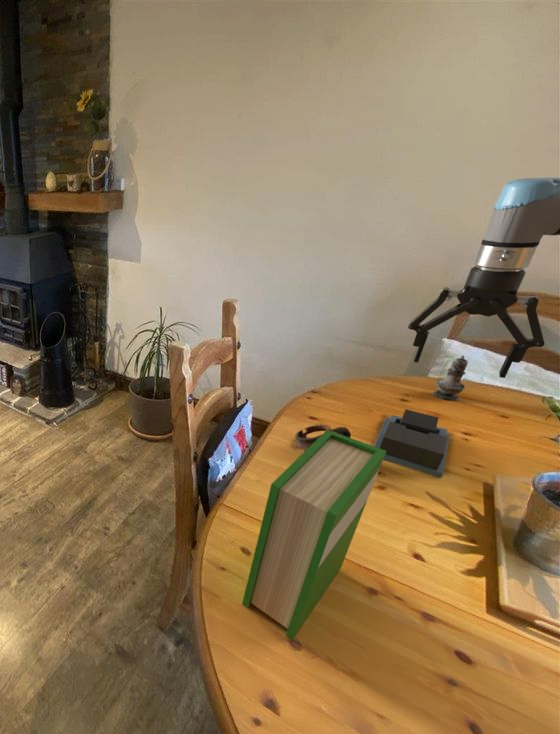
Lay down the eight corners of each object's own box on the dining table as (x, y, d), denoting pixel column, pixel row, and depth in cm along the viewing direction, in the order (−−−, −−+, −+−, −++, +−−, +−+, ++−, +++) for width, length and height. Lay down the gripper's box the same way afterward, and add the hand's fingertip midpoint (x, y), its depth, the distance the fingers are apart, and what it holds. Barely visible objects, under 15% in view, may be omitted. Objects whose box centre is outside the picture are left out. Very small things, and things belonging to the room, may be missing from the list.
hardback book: (292, 640, 59) (336, 515, 48) (242, 604, 64) (271, 484, 53) (340, 568, 68) (386, 451, 57) (293, 542, 73) (327, 429, 62)
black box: (431, 433, 97) (438, 417, 94) (427, 449, 92) (435, 433, 90) (399, 424, 100) (405, 409, 98) (393, 440, 95) (400, 423, 93)
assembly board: (448, 438, 97) (456, 419, 94) (441, 478, 85) (450, 457, 83) (384, 421, 104) (391, 403, 102) (370, 455, 93) (377, 436, 90)
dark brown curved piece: (330, 477, 88) (315, 443, 87) (294, 469, 97) (281, 438, 96) (370, 450, 90) (356, 417, 90) (332, 444, 100) (319, 414, 99)
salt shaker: (426, 393, 115) (442, 353, 109) (441, 389, 116) (458, 349, 110) (449, 403, 110) (468, 361, 104) (465, 398, 111) (484, 357, 105)
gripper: (413, 266, 85) (382, 360, 95) (604, 278, 69) (544, 389, 79) (417, 259, 90) (387, 349, 100) (597, 269, 74) (541, 375, 84)
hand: (457, 367), depth 89 cm, fingers open, 13 cm apart
